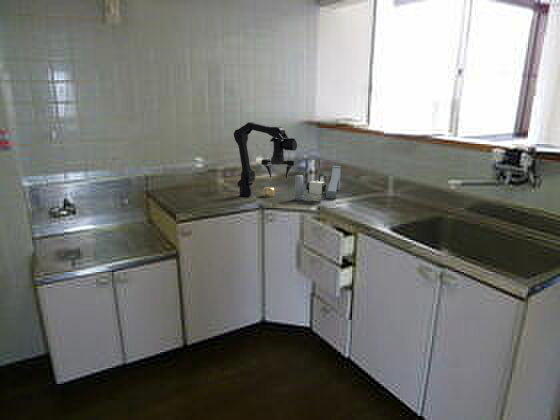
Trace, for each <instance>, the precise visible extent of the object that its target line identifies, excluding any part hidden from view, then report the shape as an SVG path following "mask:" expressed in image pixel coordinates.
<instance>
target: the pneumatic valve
mask: <svg viewBox="0 0 560 420" xmlns="http://www.w3.org/2000/svg"><path fill="white" fill-rule="evenodd" d="M305 186H306V187H305V189H306V190H307V192H308V194H313V195H312V196H311V199H312V202H321V201H322V199H323V196H322V195H324V194H326V192H327V191H328V186H329V185H328V184H327V182H326V181H319V180H318V179H316V180H311V181H308V182H307V183H306V185H305Z"/></svg>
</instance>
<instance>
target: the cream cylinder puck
mask: <svg viewBox="0 0 560 420" xmlns="http://www.w3.org/2000/svg"><path fill="white" fill-rule="evenodd" d="M263 197H264V198H273V197H275V187H273V186H265V187H263Z"/></svg>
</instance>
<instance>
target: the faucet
mask: <svg viewBox="0 0 560 420" xmlns="http://www.w3.org/2000/svg"><path fill="white" fill-rule="evenodd" d="M331 170H332V171H331V177H330V181H329V185H328V191H327V192H326V193H325V197H326V199H333V200H335V199H337V191H340V189H341V177H342V174H341V165H332V169H331Z"/></svg>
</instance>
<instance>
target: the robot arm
mask: <svg viewBox="0 0 560 420" xmlns="http://www.w3.org/2000/svg"><path fill="white" fill-rule="evenodd" d="M252 131H255V132H260V133H264V134H268V135H269V136H270V137H271V138H270V140H269V142H272V143H273V144H272V145H273V147H272V149H273V151H272V156H271V157H270V158H263V159H262V160H261V165H262V166H263V167H265V168H266V170H267V172H268V175H269V178H272V165H277V166H279V165H286V167H285V169H286V170H285V171H286V172H285V178H286V179H287V178H288V176H289V173H290V170H291V169H292V168H293V167H294V166H295V165H297V163H296V162H297V161H296V159H287V160H285V156H284V155H285V151H294V152H295V151H296V150H297V148H298V143H297V141H296V137H291V138H290V137H289V135H287V133H286V130H285V128H284V127H283V126H269V125H265V124H261V123H255V122H253V121H251V122H250V121H249V122H247V123H246V124H243V126H241V127H239V128H237V129H235V130H234V132H233V138H234V141H235V142H236V144H237V145H238V153H239V157H240V164H241V172H240V179H239V181H238V182H236V183H237V186H238V187H239V195H238V197H242V196H250V197H251V196H252V195H253V188H252V186H253V184H254V181H255V180H256V175H255V174H256V173H255V172H256V171H255V170H252V168H251V164H250V157H249V151H248V141H249V135H250V134H251V133H252ZM284 150H285V151H284Z"/></svg>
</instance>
